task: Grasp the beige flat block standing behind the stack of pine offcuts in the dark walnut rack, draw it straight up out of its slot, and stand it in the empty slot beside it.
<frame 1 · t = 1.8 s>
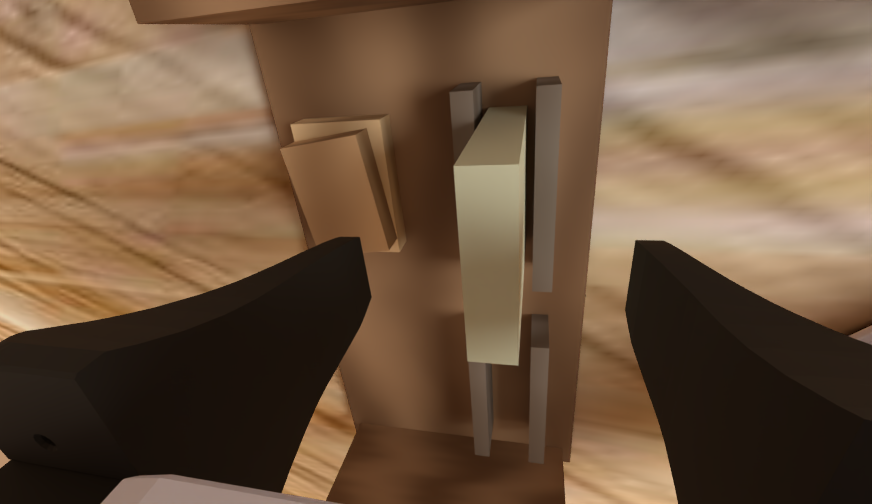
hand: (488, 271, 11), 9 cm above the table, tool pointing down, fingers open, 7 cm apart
offcut upper: (347, 191, 18), point 2 cm above the table, touching offcut lower
beige flat block: (508, 179, 18), point 1 cm above the table, touching rack
offcut lower: (357, 182, 19), point 1 cm above the table, touching offcut upper, rack
rack: (443, 266, 22), on the table
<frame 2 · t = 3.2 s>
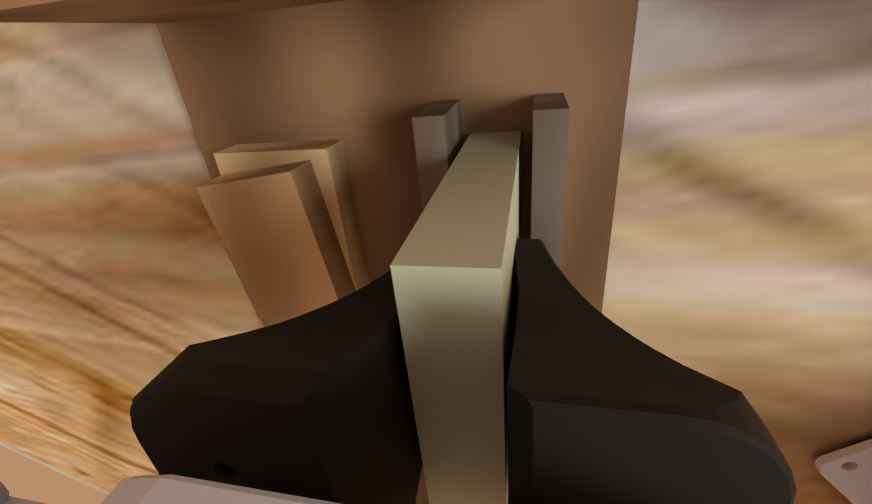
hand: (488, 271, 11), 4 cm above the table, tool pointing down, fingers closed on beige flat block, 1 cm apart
offcut upper: (292, 237, 14), point 2 cm above the table, touching offcut lower
beige flat block: (497, 223, 14), point 1 cm above the table, touching gripper, rack
offcut lower: (308, 223, 15), point 1 cm above the table, touching offcut upper, rack
rack: (420, 320, 18), on the table
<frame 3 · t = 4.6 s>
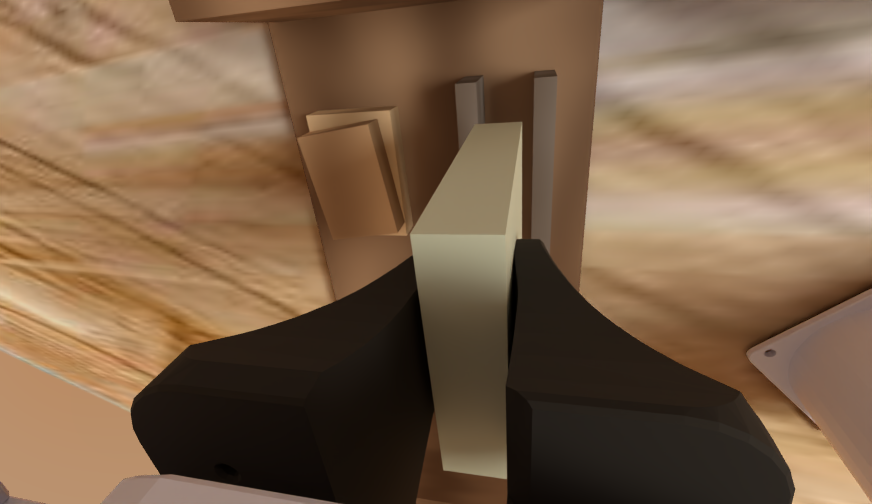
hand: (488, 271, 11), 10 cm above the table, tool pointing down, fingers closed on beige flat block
offcut upper: (358, 178, 20), point 2 cm above the table, touching offcut lower
beige flat block: (500, 209, 15), point 6 cm above the table, touching gripper
offcut lower: (367, 170, 21), point 1 cm above the table, touching offcut upper, rack
rack: (447, 250, 23), on the table
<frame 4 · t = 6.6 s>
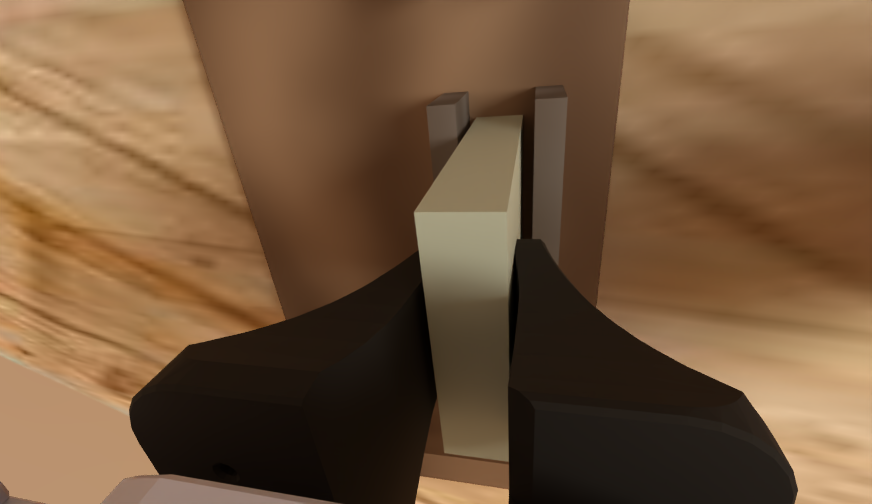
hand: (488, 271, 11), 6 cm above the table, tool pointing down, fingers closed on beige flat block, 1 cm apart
beige flat block: (501, 202, 15), point 1 cm above the table, touching gripper, rack
rack: (396, 28, 14), on the table
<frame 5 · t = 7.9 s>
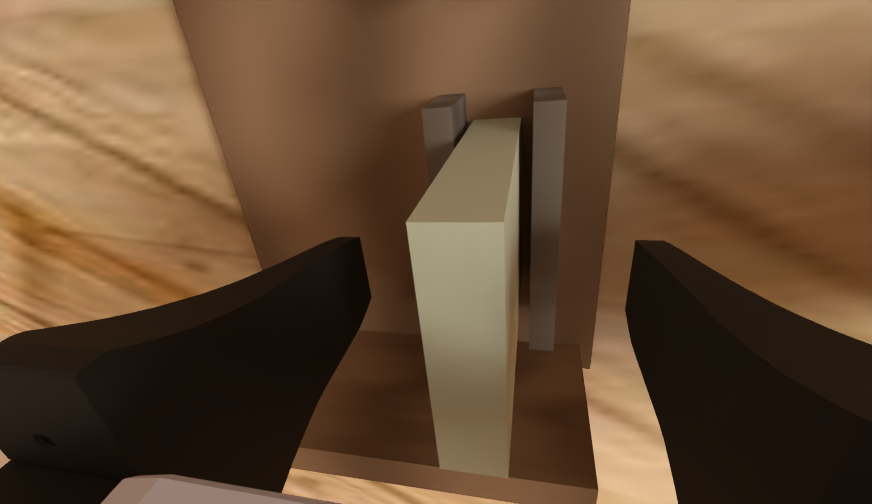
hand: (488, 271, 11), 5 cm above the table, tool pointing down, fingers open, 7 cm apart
beige flat block: (499, 206, 14), point 1 cm above the table, touching rack
rack: (391, 28, 13), on the table
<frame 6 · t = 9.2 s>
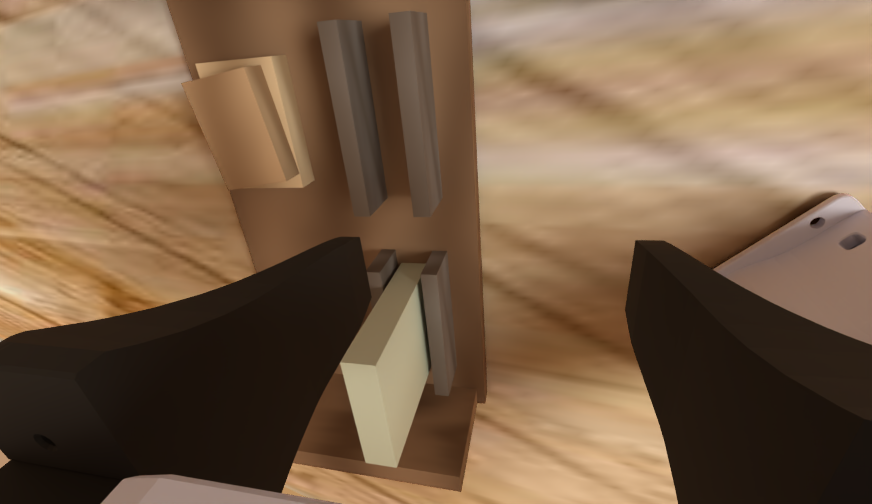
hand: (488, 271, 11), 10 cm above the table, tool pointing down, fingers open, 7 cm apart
offcut upper: (251, 128, 20), point 2 cm above the table, touching offcut lower
beige flat block: (420, 308, 24), point 1 cm above the table, touching rack
offcut lower: (266, 123, 21), point 1 cm above the table, touching offcut upper, rack
rack: (355, 208, 23), on the table
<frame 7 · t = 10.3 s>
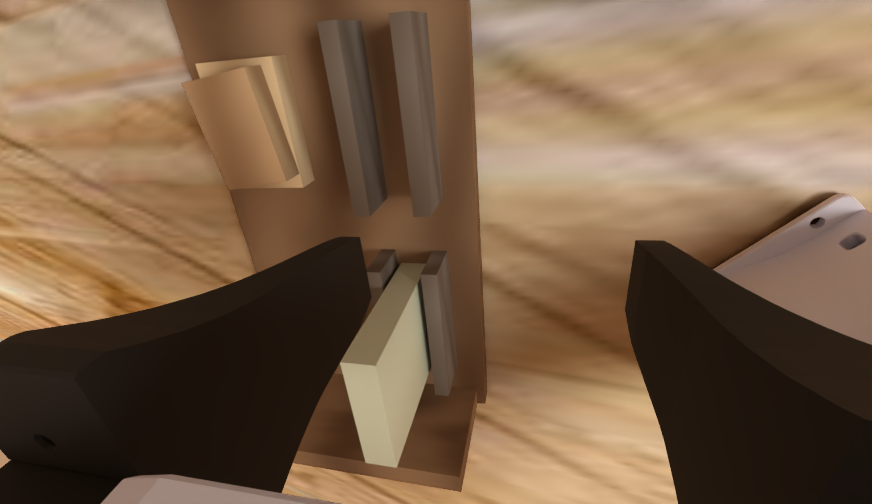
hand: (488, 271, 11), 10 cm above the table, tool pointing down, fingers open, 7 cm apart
offcut upper: (251, 128, 20), point 2 cm above the table, touching offcut lower
beige flat block: (420, 308, 24), point 1 cm above the table, touching rack
offcut lower: (266, 123, 21), point 1 cm above the table, touching offcut upper, rack
rack: (355, 208, 23), on the table
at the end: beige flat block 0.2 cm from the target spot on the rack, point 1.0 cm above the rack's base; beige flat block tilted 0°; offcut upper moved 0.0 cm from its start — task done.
